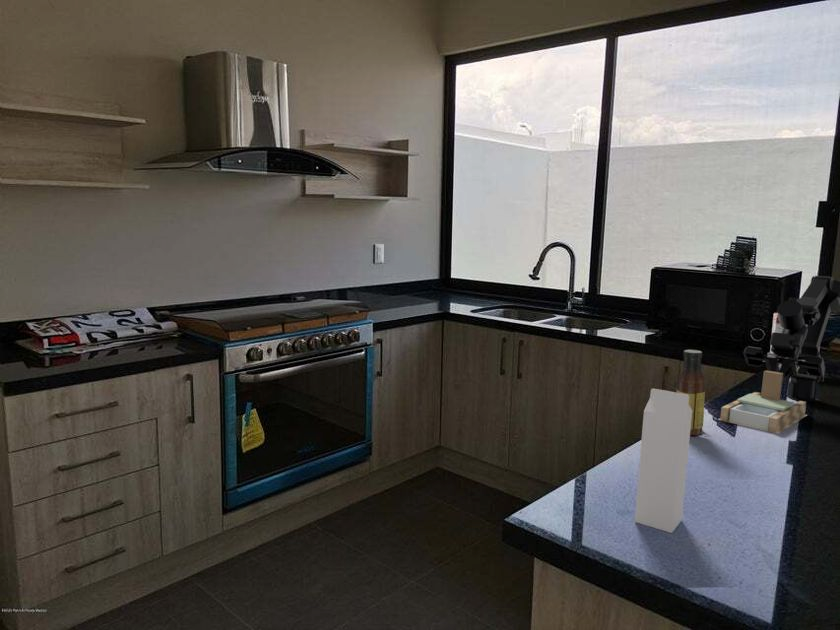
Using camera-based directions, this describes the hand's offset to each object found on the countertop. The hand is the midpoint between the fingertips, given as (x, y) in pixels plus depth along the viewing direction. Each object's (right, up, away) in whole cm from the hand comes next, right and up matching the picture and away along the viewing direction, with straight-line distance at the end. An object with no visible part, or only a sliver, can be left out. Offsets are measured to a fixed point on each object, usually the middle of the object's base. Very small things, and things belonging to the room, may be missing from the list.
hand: (773, 386), depth 166 cm
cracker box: (+36, -2, +54) cm, 65 cm away
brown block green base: (-3, -4, -3) cm, 6 cm away
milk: (-53, -15, -62) cm, 83 cm away
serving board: (-4, -8, -2) cm, 10 cm away
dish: (-9, -8, -7) cm, 14 cm away
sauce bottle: (-29, -10, -15) cm, 33 cm away
